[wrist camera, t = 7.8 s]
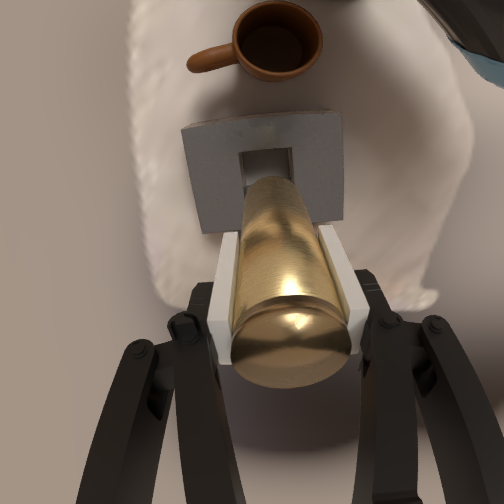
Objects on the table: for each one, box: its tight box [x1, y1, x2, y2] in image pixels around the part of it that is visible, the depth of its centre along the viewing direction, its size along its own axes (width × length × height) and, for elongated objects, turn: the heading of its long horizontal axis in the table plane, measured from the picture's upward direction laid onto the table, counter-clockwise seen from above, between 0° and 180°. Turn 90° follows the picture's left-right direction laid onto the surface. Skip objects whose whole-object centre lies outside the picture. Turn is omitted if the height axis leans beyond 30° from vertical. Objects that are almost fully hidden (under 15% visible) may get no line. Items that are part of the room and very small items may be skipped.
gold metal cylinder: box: [230, 176, 352, 388], centre depth 16 cm, size 4×4×14 cm
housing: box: [181, 110, 344, 234], centre depth 31 cm, size 12×16×5 cm
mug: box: [186, 0, 323, 82], centre depth 22 cm, size 12×8×9 cm, turn 107°
